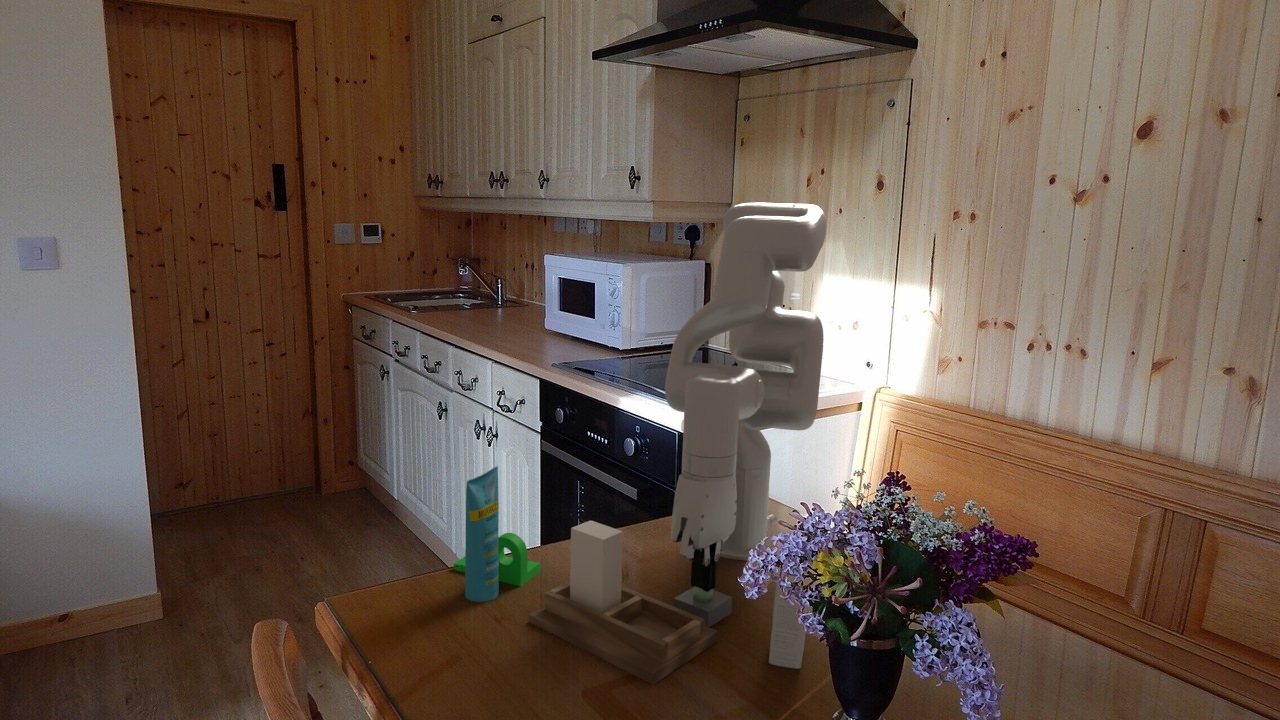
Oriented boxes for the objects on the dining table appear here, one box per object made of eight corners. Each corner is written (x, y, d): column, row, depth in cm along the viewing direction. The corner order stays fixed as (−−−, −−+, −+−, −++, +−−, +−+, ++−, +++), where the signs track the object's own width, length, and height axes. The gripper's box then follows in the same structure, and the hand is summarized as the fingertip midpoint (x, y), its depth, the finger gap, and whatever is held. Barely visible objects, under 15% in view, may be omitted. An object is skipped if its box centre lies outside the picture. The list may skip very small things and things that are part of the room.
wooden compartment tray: (596, 591, 125) (597, 566, 125) (717, 641, 112) (718, 613, 111) (528, 624, 115) (528, 597, 114) (653, 684, 101) (654, 654, 100)
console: (697, 600, 123) (698, 584, 123) (731, 613, 120) (732, 597, 119) (673, 614, 119) (673, 598, 118) (707, 628, 115) (708, 611, 115)
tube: (484, 611, 118) (483, 482, 115) (454, 605, 119) (453, 477, 116) (508, 589, 125) (509, 467, 122) (480, 584, 126) (479, 463, 123)
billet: (589, 599, 119) (590, 520, 117) (620, 612, 116) (622, 531, 114) (569, 608, 116) (571, 528, 114) (601, 623, 113) (603, 539, 110)
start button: (700, 591, 121) (701, 578, 120) (716, 597, 119) (717, 584, 119) (689, 598, 119) (690, 585, 118) (705, 604, 117) (706, 591, 116)
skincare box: (772, 642, 112) (777, 558, 110) (806, 647, 111) (812, 562, 109) (767, 666, 106) (773, 577, 104) (803, 671, 105) (809, 582, 103)
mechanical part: (539, 575, 131) (540, 527, 129) (520, 590, 125) (520, 540, 124) (475, 561, 135) (474, 514, 134) (453, 575, 130) (453, 527, 128)
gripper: (716, 447, 123) (711, 564, 126) (654, 468, 112) (649, 596, 115) (760, 457, 118) (753, 578, 121) (699, 481, 107) (693, 613, 110)
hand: (703, 586), depth 118 cm, fingers closed, pressing on start button
